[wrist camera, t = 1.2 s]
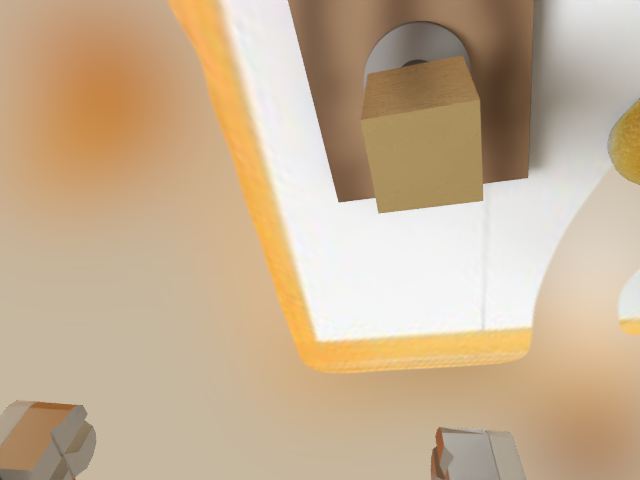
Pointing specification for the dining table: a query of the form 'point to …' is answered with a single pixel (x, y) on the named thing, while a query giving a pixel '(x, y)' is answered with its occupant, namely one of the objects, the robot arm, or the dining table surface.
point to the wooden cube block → (423, 135)
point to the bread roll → (627, 144)
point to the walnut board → (490, 76)
